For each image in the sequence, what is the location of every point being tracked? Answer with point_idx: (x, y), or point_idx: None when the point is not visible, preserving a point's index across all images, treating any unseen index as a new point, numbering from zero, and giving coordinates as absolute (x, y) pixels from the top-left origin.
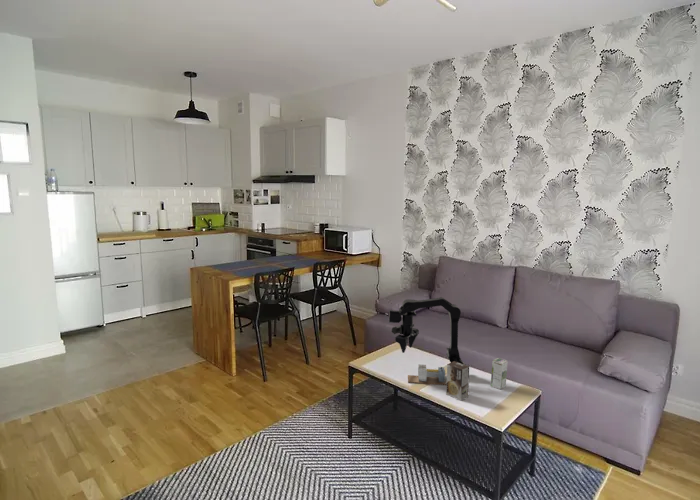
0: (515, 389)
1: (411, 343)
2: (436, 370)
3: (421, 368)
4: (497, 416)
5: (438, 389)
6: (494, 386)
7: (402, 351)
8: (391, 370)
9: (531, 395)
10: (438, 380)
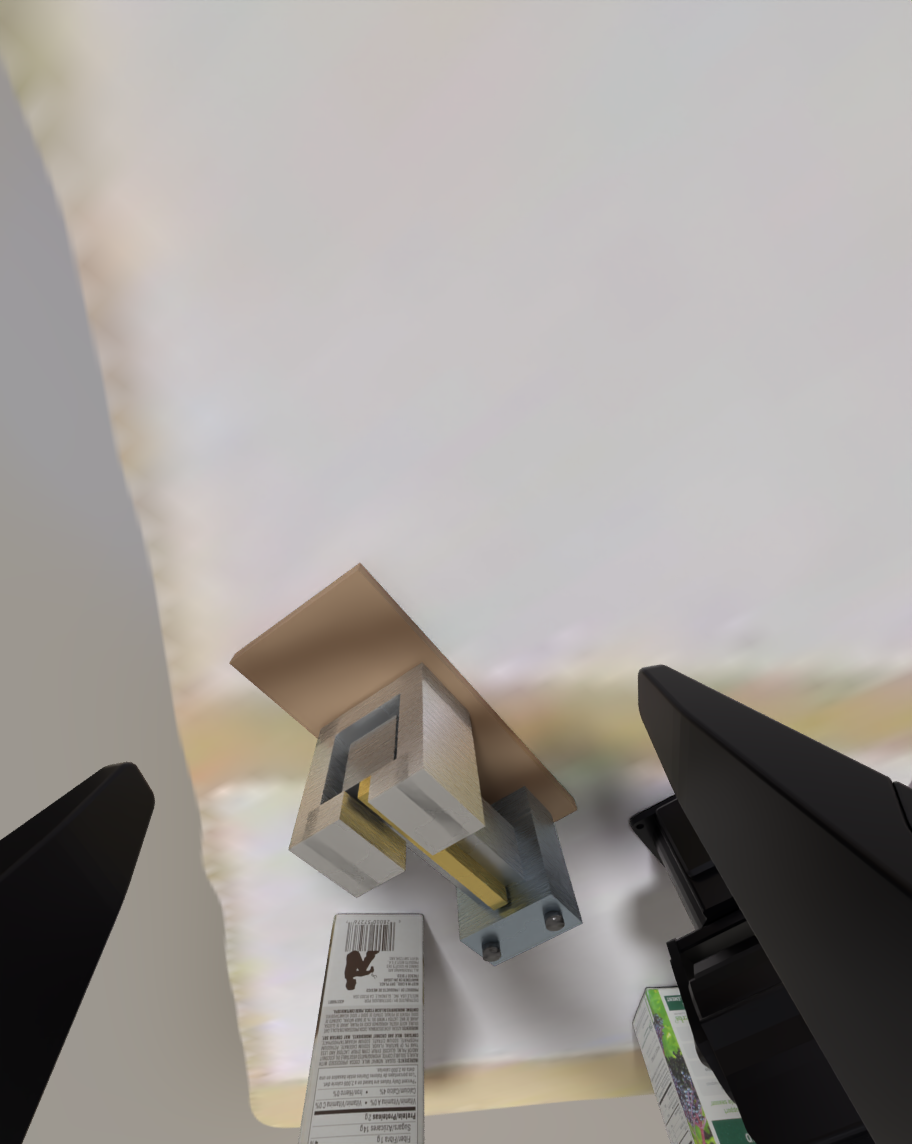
0: None
1: (723, 845)
2: (481, 895)
3: (338, 850)
4: None
5: None
6: (642, 1011)
7: (75, 807)
8: (341, 277)
9: None
10: None
